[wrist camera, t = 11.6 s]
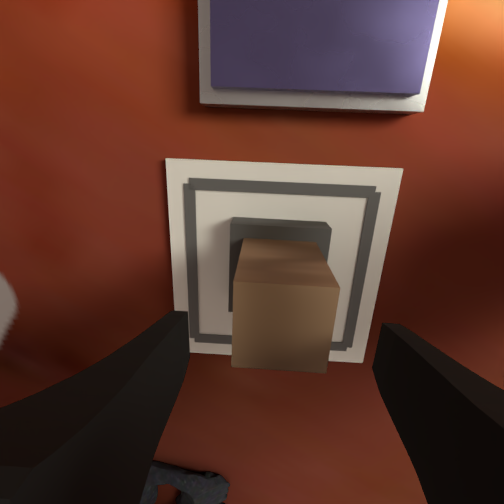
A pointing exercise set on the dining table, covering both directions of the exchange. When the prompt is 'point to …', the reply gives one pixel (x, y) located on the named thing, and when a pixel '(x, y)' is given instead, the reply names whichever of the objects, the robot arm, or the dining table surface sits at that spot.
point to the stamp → (281, 294)
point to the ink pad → (318, 54)
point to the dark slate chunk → (185, 485)
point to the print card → (277, 207)
